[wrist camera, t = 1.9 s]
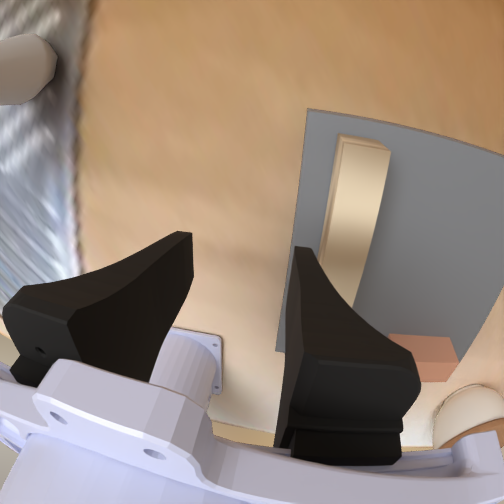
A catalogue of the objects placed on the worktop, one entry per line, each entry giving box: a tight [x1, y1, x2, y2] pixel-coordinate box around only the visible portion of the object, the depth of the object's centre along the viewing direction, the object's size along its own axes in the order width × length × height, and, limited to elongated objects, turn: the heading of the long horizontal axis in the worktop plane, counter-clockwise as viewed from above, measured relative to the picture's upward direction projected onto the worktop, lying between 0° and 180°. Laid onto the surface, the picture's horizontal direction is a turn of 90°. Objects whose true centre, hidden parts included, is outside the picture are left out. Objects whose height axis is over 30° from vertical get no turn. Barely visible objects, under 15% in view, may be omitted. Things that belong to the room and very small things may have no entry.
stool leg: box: [317, 133, 391, 308], centre depth 19 cm, size 14×3×3 cm, turn 176°
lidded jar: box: [432, 384, 504, 450], centre depth 27 cm, size 11×11×9 cm
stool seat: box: [275, 108, 504, 382], centre depth 20 cm, size 19×18×5 cm
